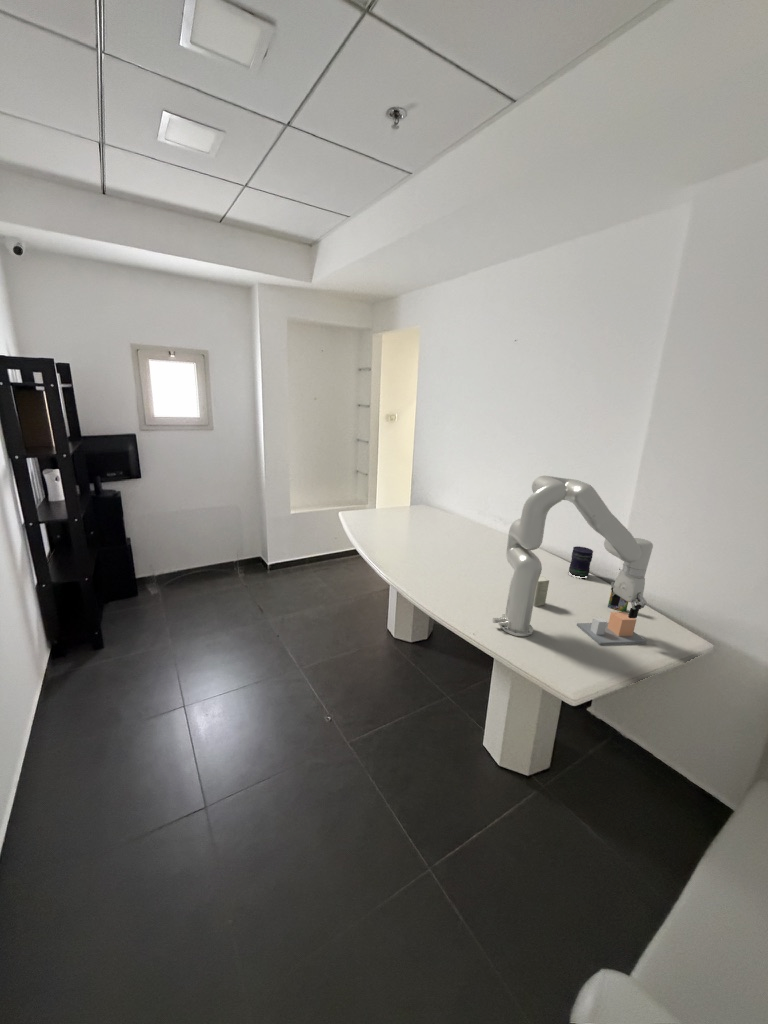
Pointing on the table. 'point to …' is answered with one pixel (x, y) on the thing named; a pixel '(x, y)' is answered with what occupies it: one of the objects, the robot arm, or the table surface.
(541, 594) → the skincare box
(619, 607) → the crayon box
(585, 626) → the board
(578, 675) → the table surface
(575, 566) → the storage jar
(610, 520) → the robot arm
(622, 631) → the tan matte cube
